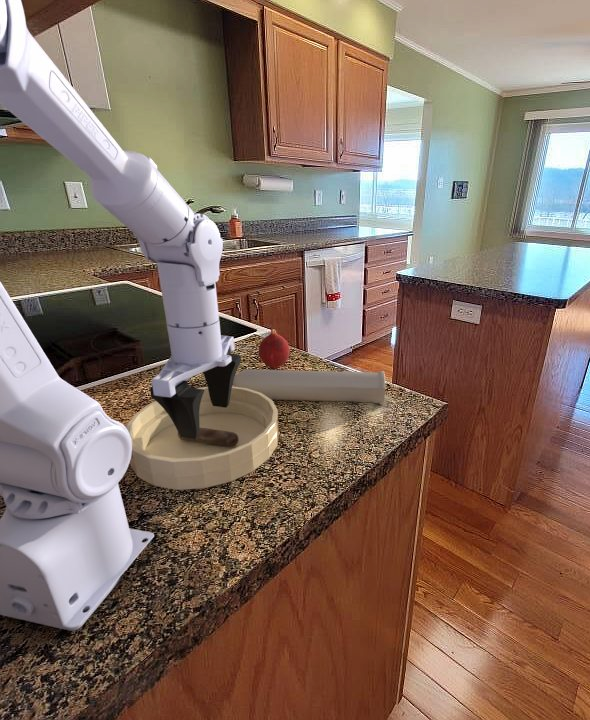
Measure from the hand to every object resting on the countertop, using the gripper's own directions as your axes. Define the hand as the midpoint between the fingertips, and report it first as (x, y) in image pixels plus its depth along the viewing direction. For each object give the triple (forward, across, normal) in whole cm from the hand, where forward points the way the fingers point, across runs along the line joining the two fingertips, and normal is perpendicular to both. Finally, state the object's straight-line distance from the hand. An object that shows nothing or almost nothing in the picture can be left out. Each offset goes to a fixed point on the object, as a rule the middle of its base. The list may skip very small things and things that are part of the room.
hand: (206, 420), depth 52 cm
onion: (+4, +26, +1) cm, 26 cm away
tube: (+4, +16, -9) cm, 19 cm away
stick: (+3, 0, 0) cm, 4 cm away
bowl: (+4, 0, 0) cm, 4 cm away
